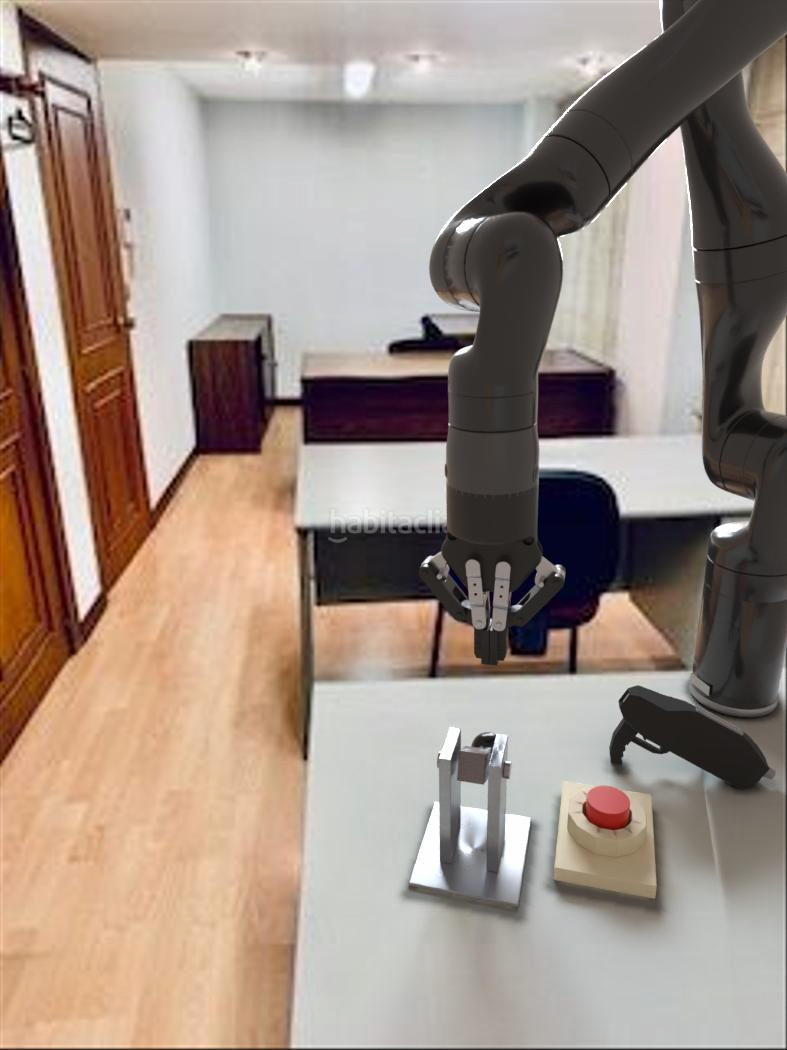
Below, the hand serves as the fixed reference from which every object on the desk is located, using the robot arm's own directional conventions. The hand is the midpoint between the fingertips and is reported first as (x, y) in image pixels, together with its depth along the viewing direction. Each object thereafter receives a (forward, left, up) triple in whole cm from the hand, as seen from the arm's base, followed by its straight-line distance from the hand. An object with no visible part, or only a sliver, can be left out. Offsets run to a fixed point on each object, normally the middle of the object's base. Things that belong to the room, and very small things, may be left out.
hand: (490, 661), depth 68 cm
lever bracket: (+8, 0, -15) cm, 17 cm away
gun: (-8, +19, -15) cm, 26 cm away
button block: (+4, +11, -15) cm, 19 cm away
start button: (+4, +11, -12) cm, 16 cm away
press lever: (+5, 0, -9) cm, 10 cm away
